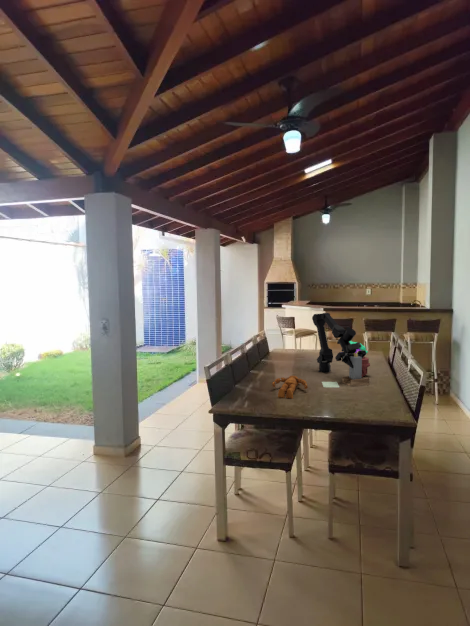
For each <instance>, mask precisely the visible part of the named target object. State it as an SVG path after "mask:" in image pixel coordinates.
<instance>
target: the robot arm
mask: <svg viewBox="0 0 470 626" xmlns="http://www.w3.org/2000/svg"><path fill="white" fill-rule="evenodd" d="M311 319H312V322H313V325H314V326H315V327H316V329H317V336H318V341H319V345H320V349H319V352H318V353H319V355H318V357H317V358H316V362H317V363H318V366H319V367H318V371H317V372H318V373H324V374H328V373H330V372H332V371H331V369H332V368H331V363H333V360H334V353H333V349H332V348H330V346H329V344H328V339H327V333H326V327H325V325H326V324H327V326H328V327H329V329H331V335H333V337H334V338H335V339H337V345H340V347H341V351H339V352H337V354H336V356H335V360H336V362H342V363H344V364H346V365H347V366H348V367H349V366H350V367H351V368H354V367H353V364H352V362H351V360H350V356H354V353H355V352H356V351H357V349H359V348H360V347H361V344H362V343H361V344H360V341H356V342H357V343H355V344H350V342H349V341H353V339H354V337H355V336H356V335H357V331H356V330H354V329H353V328H351V327H350V326H347V327H346V329H345V328H344V326H341V325H339V324H338V323H337V322H336V320H335V319H334V318H333V317H332V316H331V314H330V313H329V312H322V313H315V314H313V315H312V318H311ZM366 351H367V350H366ZM366 351H365V350H360V351H358V353H357V354H358V356H360V357H362V358H363V357H366V356H367V354H368V353H366Z"/></svg>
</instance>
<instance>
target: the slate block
mask: <svg viewBox="0 0 470 626" xmlns="http://www.w3.org/2000/svg"><path fill="white" fill-rule="evenodd" d="M350 360H351V362H352V364H353V367H354V368H351V367H350V366H349V365H348V368H349V369H348V370H349V371H348V372H349V374H348V376H349V378H351V379H354V380H355V379H363V377H362V357H360V356H358V354H357V353H354V356H350Z"/></svg>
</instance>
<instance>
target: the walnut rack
mask: <svg viewBox="0 0 470 626" xmlns="http://www.w3.org/2000/svg"><path fill="white" fill-rule="evenodd" d="M341 383H342V384H344V385H347V386H350V387H351V388H352V387H359V386H369V385H370V378H369V377H365V378H364V377H362V379H355V380H354V379H351V378H349V375H347V376H344V375H343V376H341Z"/></svg>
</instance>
